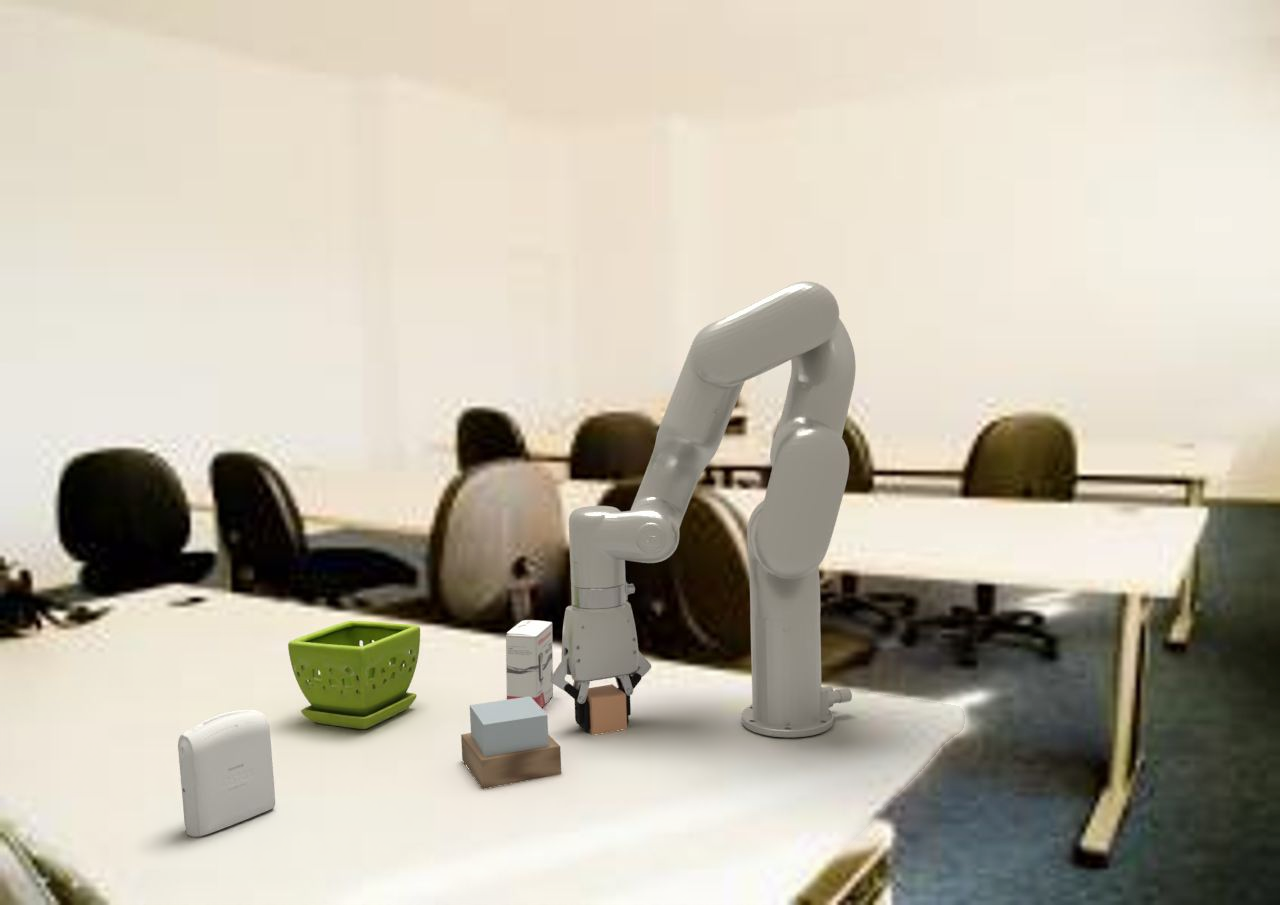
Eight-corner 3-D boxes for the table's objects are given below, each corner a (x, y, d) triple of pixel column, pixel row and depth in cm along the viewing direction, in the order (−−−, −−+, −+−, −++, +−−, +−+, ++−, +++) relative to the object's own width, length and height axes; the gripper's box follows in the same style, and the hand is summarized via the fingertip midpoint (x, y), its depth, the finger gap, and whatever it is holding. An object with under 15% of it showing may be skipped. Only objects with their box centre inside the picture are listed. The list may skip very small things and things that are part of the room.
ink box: (539, 715, 154) (536, 634, 153) (506, 713, 155) (502, 633, 154) (556, 696, 162) (552, 619, 161) (524, 694, 163) (521, 618, 162)
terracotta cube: (613, 718, 152) (612, 684, 151) (627, 729, 147) (625, 694, 146) (580, 724, 150) (579, 689, 149) (593, 735, 145) (592, 699, 144)
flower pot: (428, 707, 159) (423, 624, 158) (367, 739, 146) (362, 649, 145) (353, 697, 165) (348, 617, 164) (289, 727, 152) (283, 640, 151)
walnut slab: (536, 751, 141) (535, 721, 141) (561, 777, 132) (560, 746, 132) (462, 764, 137) (461, 734, 137) (482, 792, 128) (481, 760, 128)
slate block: (531, 726, 139) (530, 696, 139) (548, 746, 132) (547, 714, 131) (471, 735, 136) (469, 705, 136) (485, 756, 129) (483, 724, 128)
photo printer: (197, 841, 116) (189, 732, 115) (178, 831, 119) (170, 724, 118) (281, 809, 124) (275, 706, 123) (262, 800, 127) (255, 699, 126)
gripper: (644, 584, 153) (648, 707, 155) (531, 598, 147) (536, 726, 148) (666, 594, 146) (670, 722, 148) (548, 609, 140) (554, 744, 141)
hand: (603, 723), depth 148 cm, fingers closed on terracotta cube, 5 cm apart
